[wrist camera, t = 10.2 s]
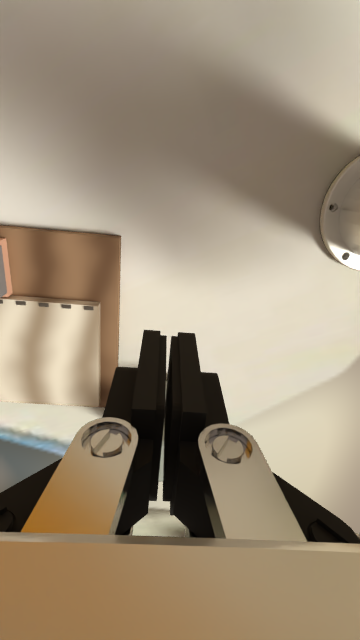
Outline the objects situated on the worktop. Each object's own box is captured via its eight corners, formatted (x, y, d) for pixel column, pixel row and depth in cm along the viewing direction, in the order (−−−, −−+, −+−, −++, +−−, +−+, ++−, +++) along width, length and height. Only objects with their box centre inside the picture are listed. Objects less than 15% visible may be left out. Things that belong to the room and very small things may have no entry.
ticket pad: (121, 236, 36) (117, 240, 34) (117, 402, 45) (114, 414, 43) (-55, 220, 35) (-71, 224, 33) (-22, 394, 44) (-33, 406, 42)
